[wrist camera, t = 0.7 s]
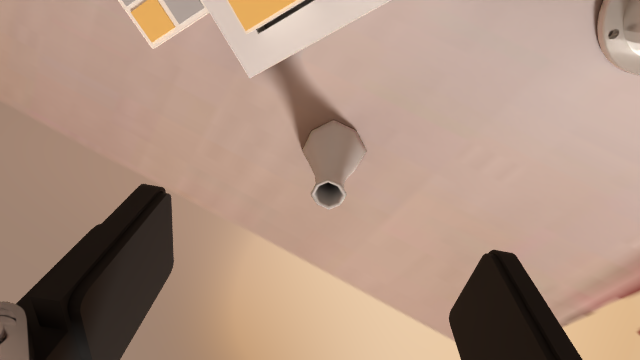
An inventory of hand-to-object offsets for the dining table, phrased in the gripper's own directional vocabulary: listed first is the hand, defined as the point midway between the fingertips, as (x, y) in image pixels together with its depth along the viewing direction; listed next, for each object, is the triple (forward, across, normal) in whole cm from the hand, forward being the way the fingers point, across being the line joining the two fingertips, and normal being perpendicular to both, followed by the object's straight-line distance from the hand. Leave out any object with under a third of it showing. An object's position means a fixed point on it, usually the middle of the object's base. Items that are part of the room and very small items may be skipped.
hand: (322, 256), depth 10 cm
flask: (+30, -2, +10) cm, 31 cm away
